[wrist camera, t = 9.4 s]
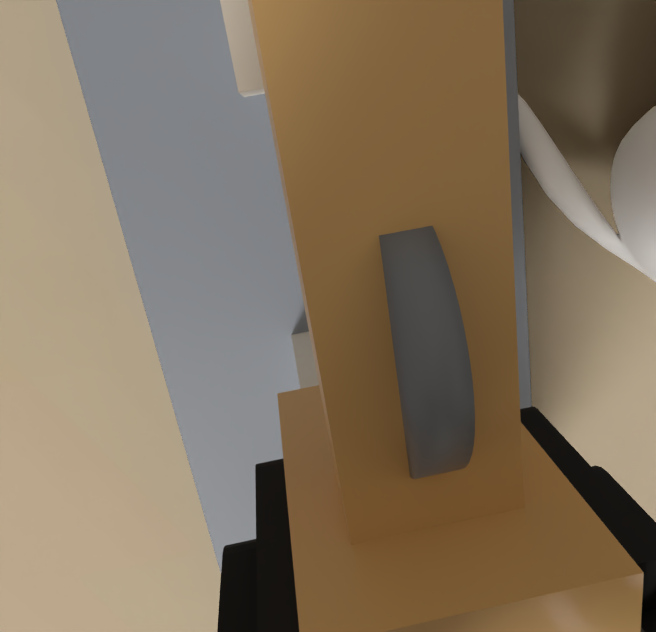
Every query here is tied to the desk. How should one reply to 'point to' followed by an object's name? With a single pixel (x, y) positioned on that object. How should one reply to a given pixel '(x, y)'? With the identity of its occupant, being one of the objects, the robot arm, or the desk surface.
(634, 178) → the cat figurine
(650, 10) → the desk surface
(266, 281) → the display stand
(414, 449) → the tan bar with handles
